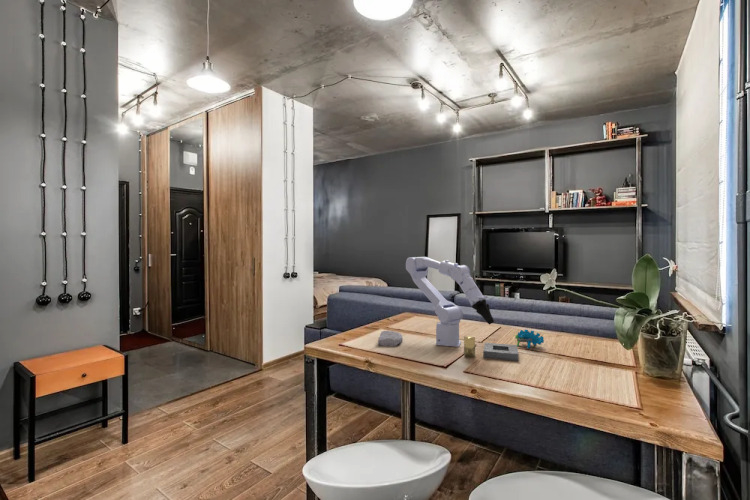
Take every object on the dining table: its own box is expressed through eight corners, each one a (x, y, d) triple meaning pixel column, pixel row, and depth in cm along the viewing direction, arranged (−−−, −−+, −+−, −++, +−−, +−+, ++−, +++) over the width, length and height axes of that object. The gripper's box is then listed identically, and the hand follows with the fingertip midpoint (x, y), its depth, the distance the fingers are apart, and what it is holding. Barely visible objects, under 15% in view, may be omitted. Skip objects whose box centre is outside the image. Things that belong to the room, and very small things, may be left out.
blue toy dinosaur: (548, 342, 145) (538, 328, 141) (545, 355, 142) (535, 341, 138) (521, 341, 153) (511, 327, 149) (518, 353, 150) (508, 340, 146)
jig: (483, 358, 132) (483, 351, 132) (484, 348, 144) (484, 342, 144) (518, 361, 128) (518, 354, 128) (517, 351, 140) (517, 345, 140)
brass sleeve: (463, 357, 134) (463, 338, 134) (464, 353, 138) (464, 335, 137) (474, 358, 132) (474, 339, 132) (475, 354, 136) (475, 336, 136)
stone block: (401, 343, 160) (380, 338, 161) (403, 333, 160) (382, 328, 161) (400, 352, 148) (376, 346, 150) (402, 341, 148) (378, 335, 149)
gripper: (477, 281, 135) (497, 312, 128) (483, 290, 147) (501, 319, 141) (461, 290, 136) (480, 322, 130) (468, 299, 149) (485, 328, 142)
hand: (490, 321), depth 135 cm, fingers open, 7 cm apart
